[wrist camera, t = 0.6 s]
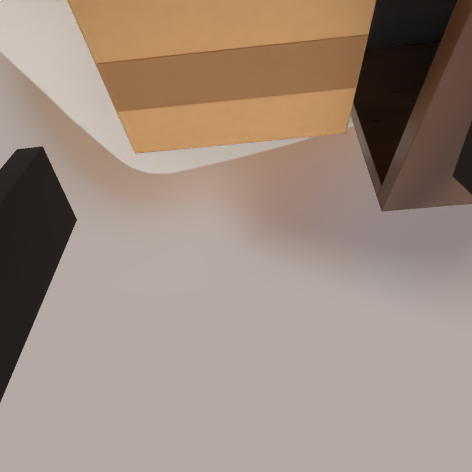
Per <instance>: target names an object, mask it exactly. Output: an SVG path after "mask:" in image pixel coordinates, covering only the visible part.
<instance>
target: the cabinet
mask: <svg viewBox="0 0 472 472" xmlns="http://www.w3.org/2000/svg"><path fill="white" fill-rule="evenodd" d="M350 115H351V118H352V121H353V124H354V127H355V130H356V133H357V137H358V139H359V143H360V146H361V149H362V152H363V155H364V158H365V161H366V164H367V167H368V171H369V174H370V177H371V180H372V183H373V186H374V189H375V192H376V196H377V198H378V201H379V205H380V208H381V211H392V210H403V209H404V210H405V209H416V208H428V207H440V206H450V205H451V206H452V205H463V204H472V195H471V194H470V193H469V192H468V191H467V190H466V189H465V188H464V187H463V186H462V185H461V184H460V183H459V182H458V181H457V180H456V179H455V178H454V177H453V173H454V170H455V167H456V164H457V161H458V158H459V156H460V153H461V150H462V147H463V144H464V141H465V138H466V136H467V133H468V130H469V127H470V124H471V121H472V0H457V2H456V5H455V7H454V10H453V12H452V15H451V17H450V20H449V22H448V25H447V27H446V29H445V32H444V34H443V37H442V39H441V42H439V43H430V44H420V45H411V46H401V47H392V48H382V49H373V50H365V52H364V57H363V61H362V66H361V70H360V74H359V79H358V83H357V87H356V92H355V96H354V100H353V105H352V109H351V113H350Z"/></svg>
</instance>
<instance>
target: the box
mask: <svg viewBox="0 0 472 472" xmlns="http://www.w3.org/2000/svg"><path fill="white" fill-rule="evenodd" d="M67 1H68V3H69V5H70V7H71V10H72V12H73V14H74V16H75V19H76V21H77V23H78V25H79V28H80V30H81V32H82V34H83V37H84V39H85V41H86V43H87V46H88V48H89V50H90V53H91V55H92V57H93V59H94V62H95V64H96V66H97V68H98V71H99V73H100V75H101V77H102V80H103V82H104V84H105V86H106V89H107V91H108V93H109V95H110V98H111V100H112V102H113V104H114V107H115V109H116V111H117V114H118V116H119V118H120V120H121V123H122V125H123V127H124V129H125V132H126V134H127V136H128V138H129V141H130V143H131V145H132V147H133V150H134V152H135V153H144V152H155V151H165V150H176V149H186V148H197V147H207V146H218V145H228V144H239V143H249V142H260V141H270V140H281V139H291V138H302V137H312V136H322V135H333V134H344V133H346V131H347V126H348V122H349V118H350V113H351V109H352V105H353V100H354V96H355V92H356V87H357V83H358V79H359V74H360V70H361V66H362V61H363V57H364V52H365V48H366V44H367V39H368V35H369V31H370V26H371V22H372V18H373V13H374V9H375V5H376V0H67Z"/></svg>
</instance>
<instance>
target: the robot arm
mask: <svg viewBox="0 0 472 472" xmlns="http://www.w3.org/2000/svg"><path fill="white" fill-rule="evenodd" d="M453 177H454V178H455V179H456V180H457V181H458V182H459V183H460V184H461V185H462V186H463V187H464V188H465V189H466V190H467V191H468V192H469V193H470V194H471V195H472V121H471V124H470V127H469V130H468V133H467V136H466V138H465V141H464V144H463V147H462V150H461V153H460V156H459V158H458V161H457V164H456V167H455V170H454V173H453ZM76 221H77V219H76V217H75V215H74V213H73V211H72V208H71V206H70V204H69V202H68V200H67V198H66V195H65V193H64V191H63V189H62V187H61V185H60V183H59V181H58V178H57V176H56V174H55V172H54V170H53V168H52V165H51V163H50V161H49V159H48V157H47V155H46V153H45V151H44V148H43V147H34V148H26V149H17V150H16V151H15V152H14V154H13V155H12V156H11V157H10V158H9V160H8V161H7V162H6V163H5V164H4V166H3V167H2V168H1V169H0V402H1V399H2V397H3V395H4V392H5V390H6V388H7V385H8V383H9V380H10V378H11V376H12V373H13V371H14V368H15V366H16V364H17V361H18V359H19V357H20V354H21V352H22V349H23V347H24V345H25V342H26V340H27V338H28V335H29V333H30V330H31V328H32V326H33V323H34V321H35V318H36V316H37V314H38V311H39V309H40V306H41V304H42V302H43V299H44V297H45V295H46V292H47V290H48V287H49V285H50V283H51V280H52V278H53V275H54V273H55V271H56V268H57V266H58V264H59V261H60V259H61V256H62V254H63V252H64V249H65V247H66V244H67V242H68V240H69V237H70V235H71V233H72V230H73V227H74V225H75V223H76Z"/></svg>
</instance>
